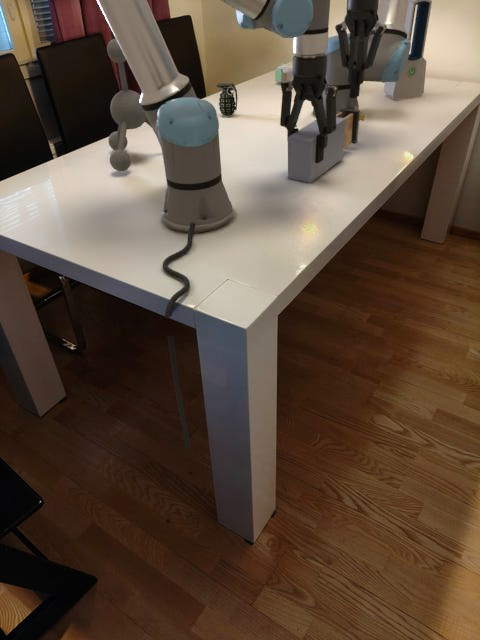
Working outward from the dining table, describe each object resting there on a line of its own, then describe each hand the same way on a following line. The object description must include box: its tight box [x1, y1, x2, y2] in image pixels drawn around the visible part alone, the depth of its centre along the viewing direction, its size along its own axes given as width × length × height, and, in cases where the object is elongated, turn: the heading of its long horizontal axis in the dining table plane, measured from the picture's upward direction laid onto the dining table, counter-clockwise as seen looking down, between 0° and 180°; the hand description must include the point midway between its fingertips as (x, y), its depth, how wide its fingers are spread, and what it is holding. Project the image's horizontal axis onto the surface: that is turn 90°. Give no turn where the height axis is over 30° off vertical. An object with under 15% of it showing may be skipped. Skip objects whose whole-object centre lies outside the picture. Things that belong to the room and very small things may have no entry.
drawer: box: [336, 108, 366, 150], centre depth 131 cm, size 22×5×8 cm, turn 144°
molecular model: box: [106, 37, 152, 172], centre depth 131 cm, size 24×22×30 cm
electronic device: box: [383, 0, 433, 100], centre depth 169 cm, size 12×8×30 cm, turn 105°
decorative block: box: [274, 60, 293, 83], centre depth 206 cm, size 26×6×20 cm
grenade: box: [215, 82, 238, 117], centre depth 166 cm, size 7×6×10 cm
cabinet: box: [287, 117, 346, 184], centre depth 123 cm, size 18×6×10 cm, turn 144°
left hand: (306, 158), depth 120 cm, fingers closed on cabinet, 6 cm apart
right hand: (354, 96), depth 130 cm, fingers closed
